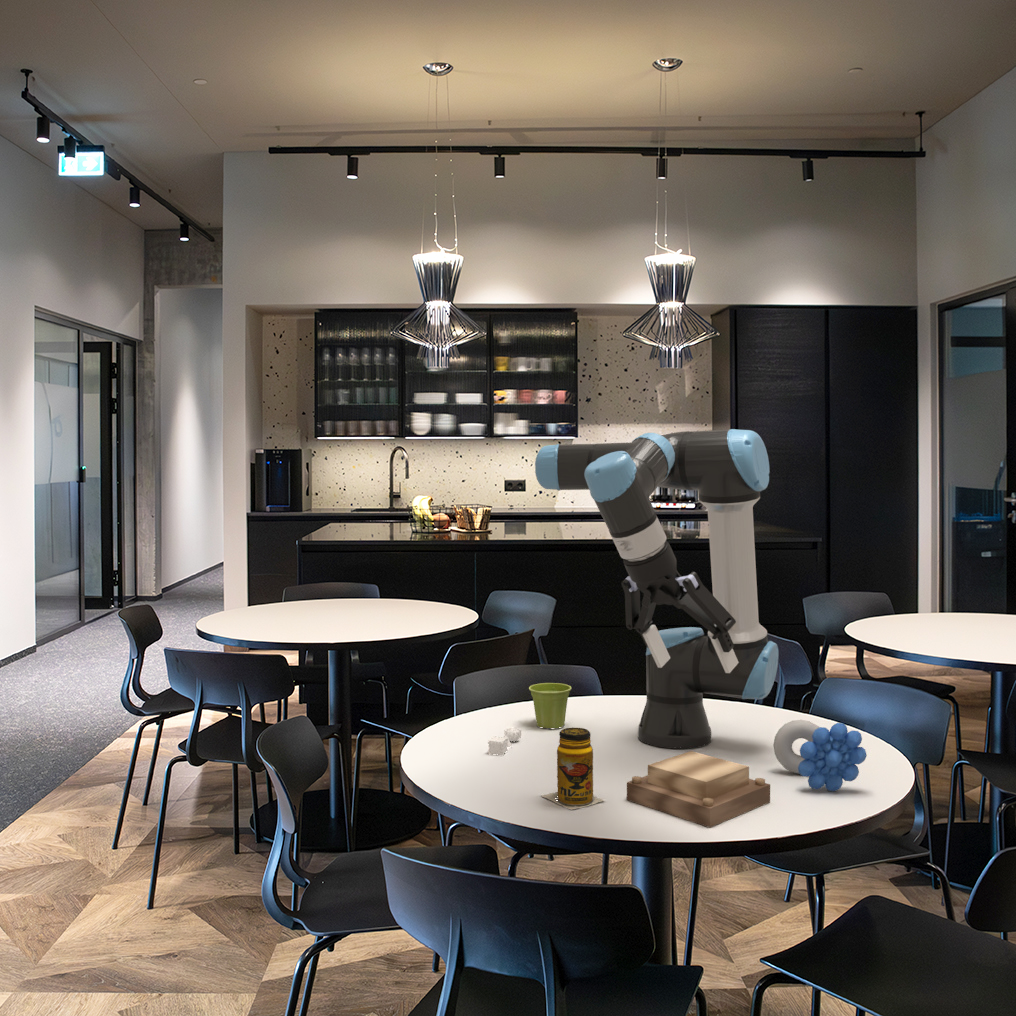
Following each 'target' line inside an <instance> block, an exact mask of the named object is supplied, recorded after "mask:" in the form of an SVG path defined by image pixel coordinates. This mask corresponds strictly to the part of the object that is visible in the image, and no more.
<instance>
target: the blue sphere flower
mask: <svg viewBox="0 0 1016 1016" xmlns="http://www.w3.org/2000/svg"><path fill="white" fill-rule="evenodd" d="M830 727H831V728H830V729H828V728H827V727H824V726H823V727H822V726H819V728H817V729H816V730H815V731H814V732H813V735H812V739H813V742H809V741H807V740H806V741H805V742H804V743H803V744H801V746H800V748H799V755H800V756H801V757H803V758H804V759H805V760H803V761H801V762H800V764H799V766H798V771H799V775H800V776H802V777H805V778H806V777H807V778H808V779H807V783H808V786H809V787H810V788H811V789H813V790H819V789H822V788H823V787H824V786H825V788H826V789H827V790H828V791H829V792H830V791H831V792H836V791H838V790H840V789H841V788H842V786H843V784H844V781H845V782H853V781H855V780H856V779H857V777H858V776H859V773H860V771H859V770H860V769H859V767H858V766H859V765H860V764H862V763H864V762H865V760H866V758H867V755H868V754H867V751H866V749H865V748H864V747H863V746H860V745H861V743H862V741H863V737H862V734H861V732H859V730H850V731H849V730H848V726H847V725H846V724H845V723H843V722H837V723H834V724H833V725H832V726H830ZM857 765H858V766H857Z"/></svg>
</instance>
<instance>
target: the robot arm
mask: <svg viewBox="0 0 1016 1016" xmlns="http://www.w3.org/2000/svg"><path fill="white" fill-rule="evenodd" d="M769 460H770V459H769V455H768V452H767V448H766V445H765V442H764V441H763V439H762V437H761V436H760V435H759V434H758V433H757V432H756V431H754V430H750V429H735V428H731V429H730V428H729V429H714V430H712V429H711V430H696V431H695V430H694V431H689V430H687V431H686V430H685V431H677V432H671V433H670V432H669V433H667V434H659V433H655V432H645V433H643V434H641V435H639V436H637V437H636V438H634V439H633V440H632V441H631V442H608V443H607V442H606V443H605V442H604V443H573V444H572V443H571V444H570V443H569V444H561V443H557V444H550V445H544V446H542V447H541V448H540V449H539V451H538V453H537V454H536V456H535V461H534V469H535V471H534V473H535V477H536V481H537V482H538V484H539V486H541V487H542V488H543V489H545V490H552V491H554V490H556V491H557V492H558V491H585V490H586V491H587V490H589V493H590V496H591V498H592V500H593V501H594V503H595V505H596V507H597V509H598V511H599V513H600V515H601V517H602V518H603V521H604V523H605V525H606V528H607V529H608V532H609V534H610V536H611V539H612V542H613V543H614V545H615V547H616V551H617V552H618V553H619V556H620V558H621V559H623V565H624V567H625V570H626V572H627V574H628V576H627V577H626V578H625V579H624V580H622V581H621V587H622V590H623V592H624V605H625V606H624V608H625V611H624V612H625V626H626V627H625V628H627V629H628V630H629V631H630V630H632V629H633V630H635V631H636V632H637V633H638V634H639V635H640V637H641V639H642V641H643V643H644V645H645V646H646V652H645V656H646V657H645V659H646V663H645V664H646V666H645V667H646V702H645V705H644V708H643V711H642V715H641V718H640V722H639V724H638V728H637V737H638V740H639V739H640V741H641V742H642V743H645V744H646V743H647V745H649V744H650V746H653V747H657V748H666V749H676V750H677V749H684V748H685V749H694V748H702V747H705V746H708V745H709V744H710V743H711V742H712V729H711V726H710V724H709V720H708V716H707V712H706V710H705V706H704V700H703V699H704V698H703V697H704V696H703V695H704V694H709V695H713V696H714V695H716V696H723V697H731V698H737V699H742V700H747V699H748V700H763V699H765V698H767V697H768V695H769V694H770V693H771V690H772V688H773V686H774V684H775V683H774V682H775V680H776V677H777V671H778V665H779V656H780V655H779V647H778V644H777V643H776V642H774V641H772V640H769V639H768V630H767V629H766V628H765V627H764V626H763V625H761V623H760V622H759V621H760V620H759V601H758V585H757V568H756V567H757V566H756V548H755V547H756V545H755V529H754V528H755V527H754V526H755V525H754V509H753V507H754V505H755V504H757V502H758V501H759V500H760V499H761V492H762V491H764V490H766V489H767V488H768V485H769V483H770V461H769ZM657 488H664V489H670V490H671V489H672V490H679V491H680V490H681V491H697V492H698V502H699V503H700V504H702V505H703V506H704V507H705V508H706V509H707V519H708V520H707V521H708V538H709V539H708V540H709V552H710V553H709V554H710V567H711V568H710V570H711V572H710V573H711V583H712V584H711V585H712V587H711V588H712V593H711V591H710V590H709V589H708V588H707V587H706V586H705V585H704V583H703V582H702V581H701V578H700V577H699V575H698V573H697V572H695V571H691V573H690V572H689V574H688V575H683V576H682V575H681V574H680V573H679V571H678V570H677V562H678V561H677V558H676V555H675V554H674V551H673V549H672V547H671V545H670V543H669V541H667V538H668V537H667V535H666V533H665V530H664V528H663V526H662V523H660V520H659V518H658V516H657V514H656V511H655V508H654V507H653V504H652V501H651V499H650V497H651V496H652V495H653V493H654V492H655V491H656V490H657ZM641 593H643V597H642V600H641ZM682 594H683V595H684V596H682ZM681 596H682V597H681ZM680 598H681V599H680ZM662 605H666V606H674V607H675V608H676V609H678V610H680V609H681V610H683V611H684V612H685V613H686V614H687V615H689V616H690V617H691V618H692V619H694V620H695V621H696V622H697V623H699V624H700V625H701V626H703V628H704V629H706V630H707V635H705V632H704V630H703V628H701V627H697V626H696V627H694V626H693V627H692V626H689V627H687V626H686V627H674V628H668V629H661V630H658V628H657V626H656V624H652V623H653V620H652V618H653V615H654V613H655V609H656V607H657V606H662ZM685 749H684V750H685Z"/></svg>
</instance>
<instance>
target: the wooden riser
mask: <svg viewBox="0 0 1016 1016" xmlns="http://www.w3.org/2000/svg"><path fill="white" fill-rule="evenodd" d="M626 800H627V801H629V802H633V803H636V804H638V805H641V806H644V807H647V808H650V809H653V810H656V811H660V812H662V813H665V814H668V815H671V816H675V817H676V818H680V819H684V820H685V821H686V820H687V821H688V822H692V823H695V824H698V825H700V826H704V827H707V828H713V827H714V826H718V825H719V824H722V823H724V822H727V821H729V820H731V819H733V818H736V817H739V816H740V815H743V814H745V813H748V812H749V811H753V810H755V809H758V808H759V807H762V806H764V805H766V804H769V803H771V784H770V783H766V779H765V778H763V777H756V778H755V779H753V778H750V766H748V765H746V764H745V765H744V764H742V763H737V762H734V761H731V760H726V759H722V758H720V757H719V758H718V757H715V756H711V755H707V754H703V753H701V752H696V751H693V750H690V751H687V752H683V753H681V754H677V755H675V756H672V757H669V758H665V759H661V760H659V761H656V762H652V763H650V764H647V775H644V776H642V777H641V776H639V775H637V776H632V777H631V780H630V781H627V782H626Z"/></svg>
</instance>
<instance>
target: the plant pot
mask: <svg viewBox="0 0 1016 1016" xmlns="http://www.w3.org/2000/svg"><path fill="white" fill-rule="evenodd" d="M528 689H529V691H530V694H531V697H532V700H533V709H534V715H535V724H536V727H538V726H539V727H543V728H542V729H545V728H546V729H548V728H559V727H562V728H563V727H564V726H565V723H566V716H567V715H566V713H567V707H568V698H569V695H570V692H571V690H572V686H571V685H570V684H569V685H568V684H566V683H559V682H556V683H555V682H543V683H541V682H540V683H537V684H536V683H535V684H531V685H530V686H529V687H528ZM563 725H564V726H563ZM539 727H538V728H539ZM559 729H560V728H559Z"/></svg>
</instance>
